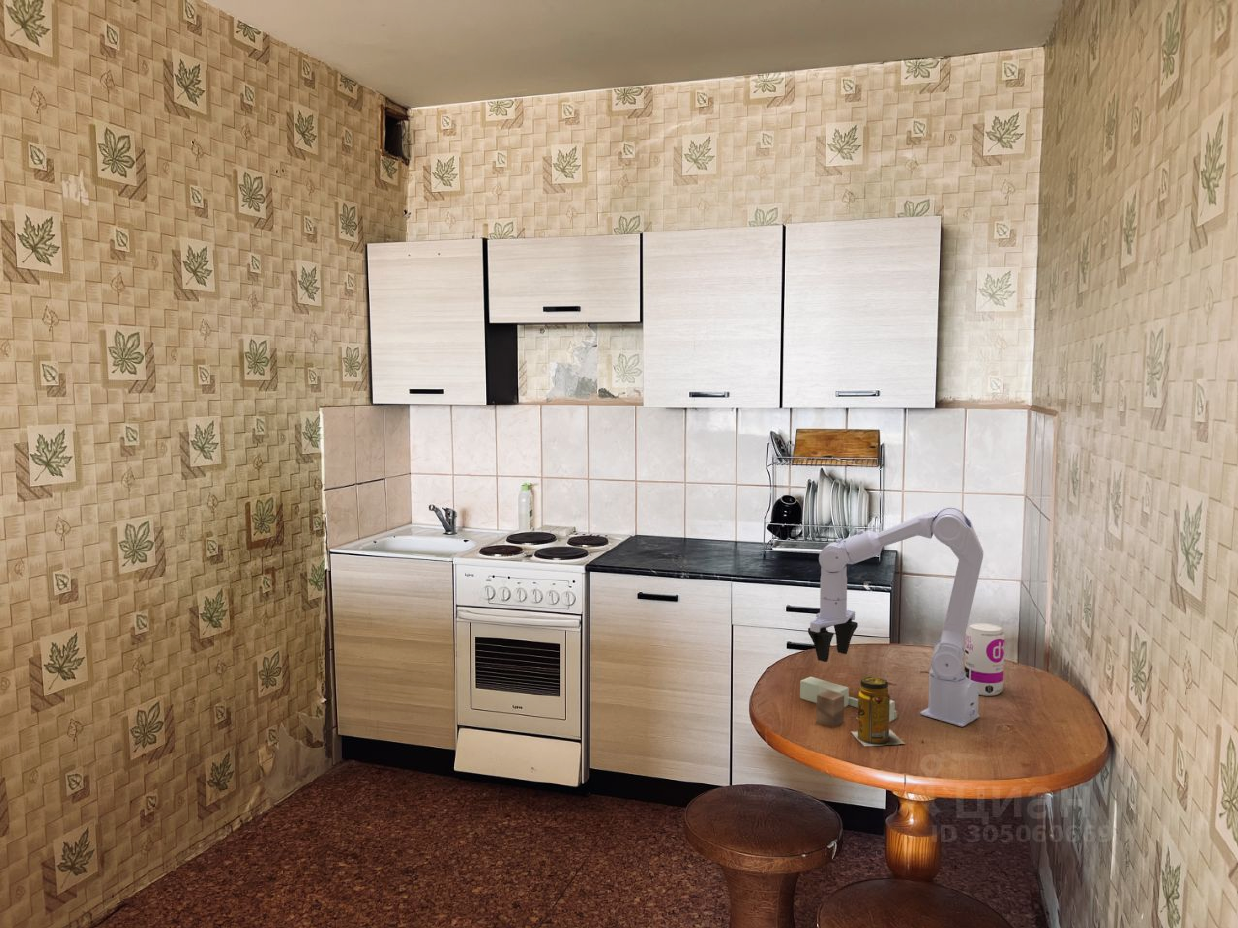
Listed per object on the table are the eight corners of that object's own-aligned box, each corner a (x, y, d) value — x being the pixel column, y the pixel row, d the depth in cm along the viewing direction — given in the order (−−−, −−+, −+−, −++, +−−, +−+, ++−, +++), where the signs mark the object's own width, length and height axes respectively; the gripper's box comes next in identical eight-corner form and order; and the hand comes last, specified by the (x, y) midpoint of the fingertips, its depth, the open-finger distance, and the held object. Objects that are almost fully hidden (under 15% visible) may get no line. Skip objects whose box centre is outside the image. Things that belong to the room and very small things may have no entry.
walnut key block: (843, 722, 180) (844, 694, 179) (833, 728, 177) (833, 699, 177) (827, 717, 183) (827, 690, 182) (816, 722, 180) (816, 694, 179)
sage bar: (896, 718, 182) (897, 699, 182) (884, 724, 179) (884, 706, 178) (812, 692, 197) (813, 675, 197) (799, 697, 194) (800, 680, 193)
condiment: (850, 732, 175) (851, 675, 174) (890, 730, 176) (891, 673, 175) (863, 747, 168) (865, 687, 167) (905, 745, 169) (907, 686, 168)
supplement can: (1010, 693, 195) (1013, 629, 194) (982, 698, 192) (985, 633, 191) (983, 681, 203) (985, 619, 201) (956, 686, 200) (958, 623, 198)
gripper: (836, 588, 198) (835, 645, 200) (799, 599, 189) (798, 659, 190) (863, 593, 193) (862, 652, 195) (826, 605, 184) (825, 667, 185)
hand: (832, 656), depth 192 cm, fingers open, 7 cm apart
